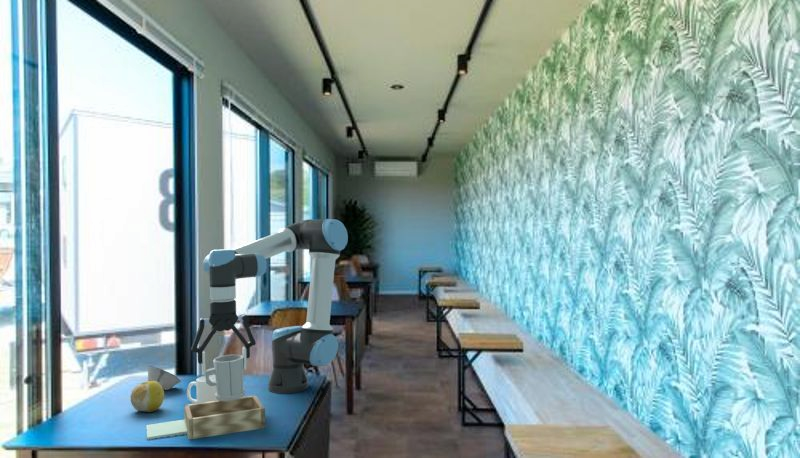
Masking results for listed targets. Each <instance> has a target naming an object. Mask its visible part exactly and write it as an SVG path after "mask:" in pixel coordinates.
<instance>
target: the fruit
mask: <svg viewBox="0 0 800 458" xmlns="http://www.w3.org/2000/svg"><path fill="white" fill-rule="evenodd" d="M164 399H165V391H164V389H163V388H162V386H161V385H160V383H158V382H156V381H148V380H146V381H144V382H140V383H139V384H138V385H136V386H135V387H134V388H133V389H132V390H131V393H130V403H131V405H132V408H134V410H136V411H138V412H147V413H152V412H155V411H157V410H159V409H160V408H161V406H162V404H163V403H164Z"/></svg>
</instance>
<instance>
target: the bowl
mask: <svg viewBox="0 0 800 458" xmlns="http://www.w3.org/2000/svg"><path fill="white" fill-rule="evenodd" d="M147 381H156V382H158V383H160V385H161V386H162V388H163V390H165V391H169V390H170V389H172V388H173V387H175V386H176V385H178V384H180V383H181V380H180V379H179V377H177V376H176V375H175V374H173V373H171V372H170V371H167V370H164V369H163V368H159V367H156V366H152V365H149V366H147Z"/></svg>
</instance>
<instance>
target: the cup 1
mask: <svg viewBox="0 0 800 458" xmlns="http://www.w3.org/2000/svg"><path fill="white" fill-rule="evenodd" d="M209 379H210V380H211V381H212V382H214V381H216V378H215V374H210V375H209ZM195 380H196V381H191V382H190V383H188V385H187V390H186V396H187V397H186V398H187V399H188V401H189V402H190V403H191V404H196V403H203V402H210V401H217V399H216V398H215V393H216V386H209V385H208V384H207V383H206V379H205V375H201V376H200V377H197V378H196V379H195ZM192 386H195V387H196V388H195V389H196V399H195V398H192V396H191V390H192Z"/></svg>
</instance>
